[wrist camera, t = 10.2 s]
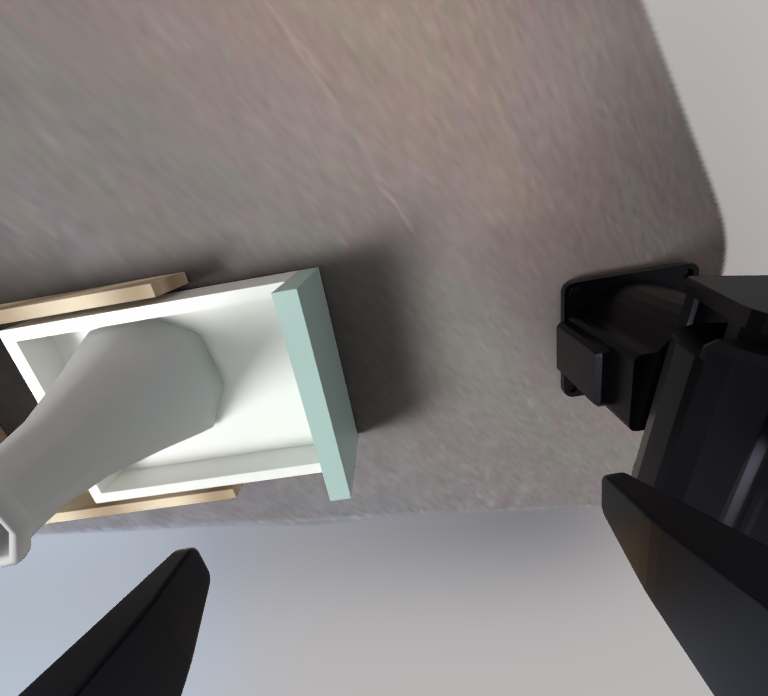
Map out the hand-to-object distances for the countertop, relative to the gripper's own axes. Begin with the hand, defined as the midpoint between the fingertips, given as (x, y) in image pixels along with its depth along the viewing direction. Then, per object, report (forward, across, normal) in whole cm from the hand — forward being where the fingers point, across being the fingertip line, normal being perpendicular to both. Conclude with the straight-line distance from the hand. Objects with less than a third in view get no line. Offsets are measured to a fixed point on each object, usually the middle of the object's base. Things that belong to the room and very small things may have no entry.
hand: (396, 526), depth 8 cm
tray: (+13, +10, +1) cm, 17 cm away
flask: (+12, +12, 0) cm, 17 cm away
